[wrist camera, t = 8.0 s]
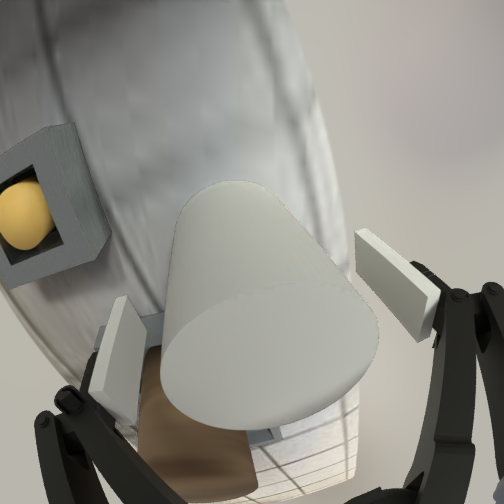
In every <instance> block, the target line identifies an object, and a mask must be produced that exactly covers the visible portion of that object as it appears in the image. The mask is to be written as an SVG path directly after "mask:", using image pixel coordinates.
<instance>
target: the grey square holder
mask: <svg viewBox="0 0 504 504" xmlns="http://www.w3.org/2000/svg"><path fill="white" fill-rule="evenodd" d="M33 167H34V169H35V172H36V175H37V178H38V181H39V184H40V186H41V189H42V192H43V195H44V197H45V200H46V202H47V205H48V208H49V210H50V213H51V215H52V217H53V220H54V222H55V224H56V227H57V229H58V230H57V231H55V232H53V233H50V234H48V235H46V236H45V237H44V238H43V239H42V240H41V242H40V243H39V244H38V245H37V246H35V247H34V248H32V249H29V250H21V249H18V248H15V247H14V246H12V245H11V244H9V243H8V242H7V241H6V239H5V238H4V237H3V235H2V234H1V232H0V275H1V276H2V278H3V280H4V282H5V284H6V285H7V287H8V289H9V290H10V289H13V288H15V287H18V286H21V285H24V284H26V283H29V282H32V281H35V280H37V279H40V278H43V277H46V276H49V275H52V274H54V273H57V272H60V271H63V270H66V269H69V268H72V267H75V266H78V265H81V264H84V263H87V262H90V261H93V260H95V259H96V257H97V256H98V254H99V252H100V251H101V249H102V247H103V246H104V244H105V242H106V241H107V239H108V237H109V236H110V234H111V232H112V231H111V229H110V226H109V224H108V221H107V219H106V216H105V214H104V211H103V209H102V206H101V203H100V201H99V198H98V195H97V193H96V190H95V187H94V184H93V181H92V179H91V176H90V173H89V170H88V167H87V164H86V161H85V157H84V154H83V151H82V148H81V145H80V141H79V138H78V134H77V131H76V127H75V123H67V124H61V125H55V126H49V127H45V128H43V129H42V130H40V131H38V132H36V133H35V134H33V135H31V136H30V137H28V138H26V139H25V140H23V141H22V142H20V143H18V144H17V145H15V146H14V147H12V148H11V149H9V150H8V151H6V152H5V153H3V154H2V155H0V195H1V194H2V193H3V192H4V191H5V190H6V189H7V188H9V187H11V186H13V185H14V184H13V182H12V179H14V178H16V177H17V176H19V175H21V174H22V173H24V172H26V171H27V170H29V169H31V168H33Z"/></svg>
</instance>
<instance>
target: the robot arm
mask: <svg viewBox="0 0 504 504" xmlns="http://www.w3.org/2000/svg"><path fill="white" fill-rule="evenodd" d="M354 233H355V255H356V272H357V274H358V275H359V276H360V277H361V278H362V279H363V280H364V281H365V282H366V283H367V285H368V286H369V287H370V288H371V289H372V290H373V291H374V292H375V294H376V295H377V296H378V297H379V298H380V299H381V300H382V301H383V303H384V304H385V305H386V306H387V307H388V308H389V310H390V311H391V312H392V313H393V314H394V315H395V317H396V318H397V319H398V320H399V321H400V322H401V323H402V325H403V326H404V327H405V328H406V330H407V331H408V332H409V333H410V334H411V336H412V337H413V338H414V339H415V340H416V342H417V343H418V342H420V341H422V340H424V339H426V338H428V337H430V334H431V330H432V327H433V329H435V330H436V332H437V333H436V337H435V340H434V344H433V347H432V348H434V347H435V349H434V358H433V368H432V376H431V382H430V389H429V395H428V401H427V407H426V412H425V417H424V421H423V426H422V430H421V435H420V439H419V443H418V447H417V451H416V454H415V458H414V461H413V464H412V467H411V469H410V471H409V473H408V475H407V477H406V480H405V482H404V485H403V488H402V489H401V488H400V489H399V488H393V489H385V490H381V487H378V488H376V489H374V490H372V491H369V492H367V493H364V494H362V495H360V496H357V497H355V498H352V499H351V500H349V501H348V502H346V503H344V504H464V502H465V498H466V495H467V491H468V487H469V483H470V478H471V473H472V469H473V463H474V458H475V445H474V444H473V443H472V442H471V438H472V429H473V421H474V409H475V394H476V355H477V358H478V362H479V366H480V370H481V373H482V378H483V382H484V386H485V391H486V395H487V400H488V405H489V410H490V417H491V423H492V430H493V438H494V447H495V458H496V466H497V471H498V476H499V479H500V481H499V483H498V485H497V488H496V490H495V492H494V494H493V498H494V500H495V501H496V504H504V289H503V287H502V286H501V285H499V284H497V283H495V282H487V283H485V284H484V285H483V287H482V291H481V292H479V293H474V294H469V293H468V292H467V291H465V290H463V289H458V288H455V289H451V288H450V287H449V286H448V285H447V284H445V283H444V282H443V281H442V280H441V279H440V278H438V277H437V276H436V275H434V273H432V272H431V271H429V269H427V268H426V267H425V266H424V265H423V264H420V263H418V262H415V261H412V262H410V263H409V262H407V261H406V260H405V259H404V258H403V257H401V256H400V255H399V254H398V253H396V252H395V251H394V250H393V249H392V248H390V247H389V246H388V245H387V244H385V243H384V242H383V241H381V240H380V239H379V238H378V237H376V236H375V235H374V234H373V233H371V232H370V231H369V230H367V229H366V228H365V229H361V230H358V231H355V232H354ZM146 335H147V330H146V328H145V326H144V325H143V323H142V321H141V319H140V318H139V316H138V314H137V312H136V310H135V308H134V306H133V305H132V303H131V301H130V299H129V297H128V295H125V296H121V297H118V298H116V299H115V302H114V305H113V308H112V311H111V314H110V317H109V320H108V323H107V326H106V329H105V332H104V336H103V339H102V342H101V345H100V349H99V351H98V352H93V354H92V355H91V357H90V358H89V360H88V362H87V366H86V370H85V373H84V376H83V380H82V383H81V387H80V391H78V390H77V389H76V388H75V387H74V386H71V385H68V386H65V387H63V388H61V389H60V390H59V391H58V392H57V394H56V396H55V399H54V403H55V405H56V407H57V408H58V409H59V410H60V411H62V413H61V414H59V415H56V416H55V415H54V414H53V413H51V412H50V411H47V410H46V411H42V412H41V413H40V414H39V415H38V416H37V417H36V419H35V423H34V428H35V437H36V444H37V450H38V457H39V462H40V468H41V473H42V477H43V482H44V486H45V490H46V494H47V498H48V502H49V504H109V503H108V501H107V498H106V496H105V493H104V491H103V489H102V486H101V484H100V481H99V479H98V476H97V473H96V470H95V468H94V465H93V462H94V464H95V465H96V467H97V468H98V470H99V471H100V473H101V474H102V475H103V477H104V478H105V480H106V481H107V483H108V484H109V485H110V487H111V488H112V489H113V490H114V492H115V493H116V494H117V496H118V497H119V498H120V500H121V501H122V502H123V503H124V504H188V503H187V502H186V501H185V500H184V499H182V498H181V497H180V496H179V495H178V494H177V493H176V492H175V491H174V490H173V489H172V488H170V487H169V486H168V485H167V484H166V483H165V482H164V481H163V480H162V479H161V478H160V477H159V476H158V475H157V474H156V473H155V472H154V471H153V470H152V468H151V467H150V466H149V465H148V464H147V463H146V462H145V461H144V460H143V459H142V458H141V457H140V455H139V454H138V453H137V452H136V451H135V450H134V449H133V447H132V446H131V445H130V444H129V443H128V442H127V440H126V439H125V438H124V437H123V435H122V434H121V433H120V432H119V430H118V429H116V428H115V420H116V421H117V422H118V423H119V424H120V425H121V426H132V425H136V422H137V409H138V398H139V389H140V379H141V371H142V363H143V355H144V348H145V341H146ZM92 461H93V462H92Z"/></svg>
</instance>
